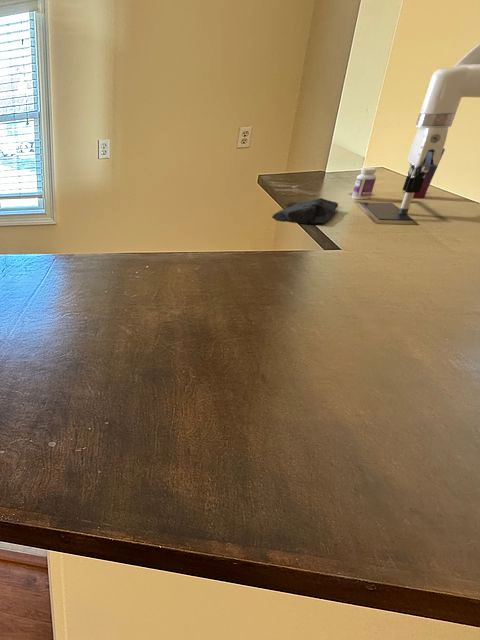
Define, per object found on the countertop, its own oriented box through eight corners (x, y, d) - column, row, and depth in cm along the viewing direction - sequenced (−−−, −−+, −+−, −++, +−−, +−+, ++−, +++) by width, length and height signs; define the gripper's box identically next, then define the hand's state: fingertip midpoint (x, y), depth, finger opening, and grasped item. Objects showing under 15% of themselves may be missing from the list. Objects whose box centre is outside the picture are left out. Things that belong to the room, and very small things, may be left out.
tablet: (416, 205, 152) (418, 202, 151) (444, 225, 133) (446, 221, 132) (357, 205, 157) (358, 201, 157) (375, 223, 138) (376, 219, 138)
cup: (431, 196, 161) (448, 148, 153) (422, 199, 158) (440, 150, 150) (406, 193, 166) (422, 147, 158) (398, 197, 163) (414, 149, 155)
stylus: (406, 212, 141) (420, 169, 135) (408, 214, 140) (423, 170, 134) (397, 212, 142) (412, 169, 136) (399, 214, 141) (414, 170, 135)
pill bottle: (371, 197, 165) (380, 167, 160) (368, 200, 162) (377, 170, 157) (352, 196, 168) (361, 166, 164) (349, 199, 165) (358, 169, 160)
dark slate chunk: (345, 211, 152) (350, 195, 150) (323, 226, 139) (328, 210, 137) (293, 206, 162) (296, 191, 159) (268, 220, 149) (271, 204, 147)
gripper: (464, 122, 121) (436, 197, 130) (441, 117, 134) (418, 186, 143) (427, 124, 124) (402, 197, 133) (408, 119, 136) (387, 186, 145)
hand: (410, 191), depth 138 cm, fingers closed on stylus, 2 cm apart
